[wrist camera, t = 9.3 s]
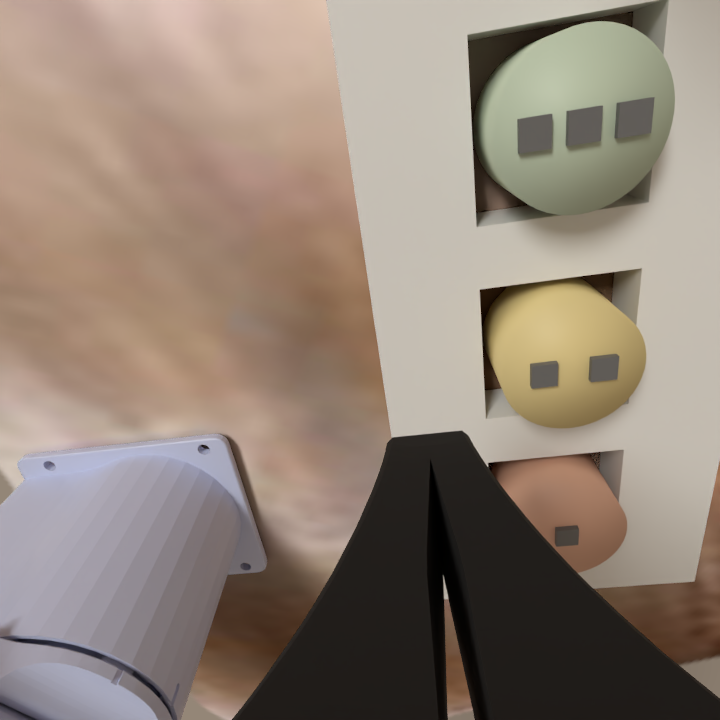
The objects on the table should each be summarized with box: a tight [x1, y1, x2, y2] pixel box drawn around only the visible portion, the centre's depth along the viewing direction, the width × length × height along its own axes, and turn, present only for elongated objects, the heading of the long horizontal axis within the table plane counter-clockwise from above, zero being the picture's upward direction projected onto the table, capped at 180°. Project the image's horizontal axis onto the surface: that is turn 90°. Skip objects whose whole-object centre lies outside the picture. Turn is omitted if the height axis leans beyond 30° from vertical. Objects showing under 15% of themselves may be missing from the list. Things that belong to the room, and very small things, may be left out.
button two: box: [483, 277, 646, 428], centre depth 17 cm, size 4×4×3 cm
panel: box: [326, 0, 720, 599], centre depth 18 cm, size 12×24×2 cm, turn 9°
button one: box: [491, 453, 627, 573], centre depth 20 cm, size 4×4×3 cm
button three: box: [473, 21, 675, 215], centre depth 14 cm, size 4×4×3 cm
